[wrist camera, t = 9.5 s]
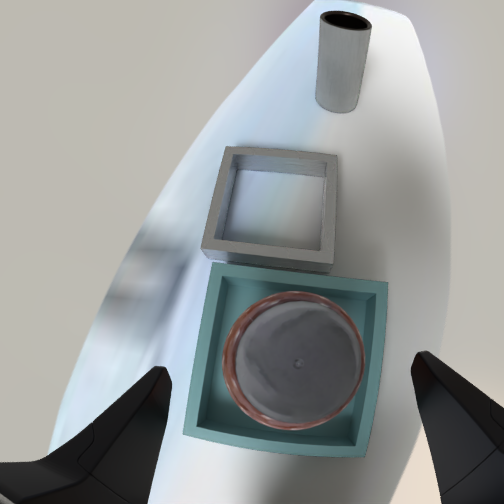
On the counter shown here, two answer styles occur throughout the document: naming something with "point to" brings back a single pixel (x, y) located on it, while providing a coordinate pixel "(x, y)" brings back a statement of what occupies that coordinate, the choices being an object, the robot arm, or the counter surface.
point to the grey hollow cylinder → (341, 59)
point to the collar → (266, 253)
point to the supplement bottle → (293, 360)
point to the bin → (211, 374)
